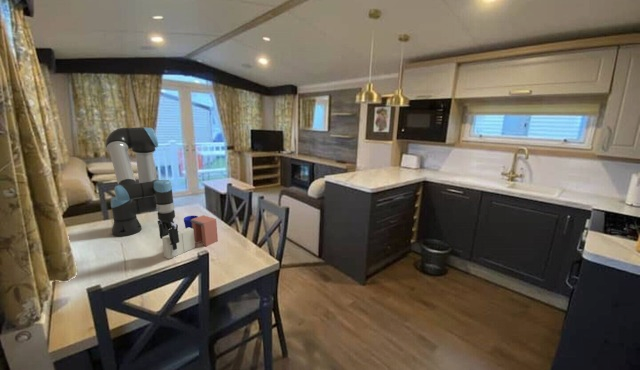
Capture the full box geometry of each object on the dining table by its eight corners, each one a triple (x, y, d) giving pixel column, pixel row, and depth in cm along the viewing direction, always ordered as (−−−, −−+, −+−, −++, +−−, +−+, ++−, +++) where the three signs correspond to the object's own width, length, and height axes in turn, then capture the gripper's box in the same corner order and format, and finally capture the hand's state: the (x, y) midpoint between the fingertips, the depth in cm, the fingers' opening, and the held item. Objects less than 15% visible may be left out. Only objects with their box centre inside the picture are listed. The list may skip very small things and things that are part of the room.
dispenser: (192, 242, 161) (190, 219, 157) (205, 236, 168) (203, 215, 164) (205, 246, 155) (203, 223, 152) (217, 241, 162) (216, 218, 159)
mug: (200, 236, 167) (198, 221, 165) (182, 234, 170) (180, 219, 167) (207, 231, 175) (206, 216, 173) (190, 229, 178) (189, 214, 175)
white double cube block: (164, 256, 143) (162, 237, 140) (190, 245, 156) (188, 227, 153) (169, 258, 141) (166, 239, 138) (195, 247, 154) (193, 228, 151)
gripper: (148, 209, 140) (154, 251, 145) (169, 216, 131) (175, 261, 136) (162, 205, 146) (167, 246, 152) (184, 212, 137) (188, 254, 143)
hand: (171, 253), depth 144 cm, fingers open, 5 cm apart
